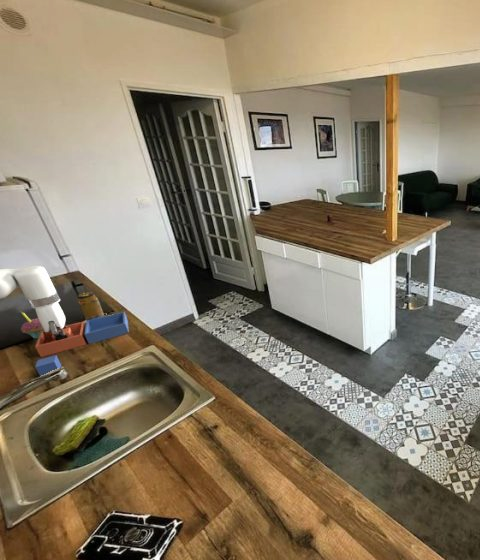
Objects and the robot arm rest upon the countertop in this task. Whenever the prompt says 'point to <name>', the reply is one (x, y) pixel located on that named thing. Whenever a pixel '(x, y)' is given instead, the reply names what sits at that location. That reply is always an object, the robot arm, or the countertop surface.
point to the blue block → (47, 365)
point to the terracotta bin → (50, 346)
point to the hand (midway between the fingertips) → (65, 340)
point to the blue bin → (106, 327)
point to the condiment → (90, 306)
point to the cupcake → (32, 327)
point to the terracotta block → (66, 331)
